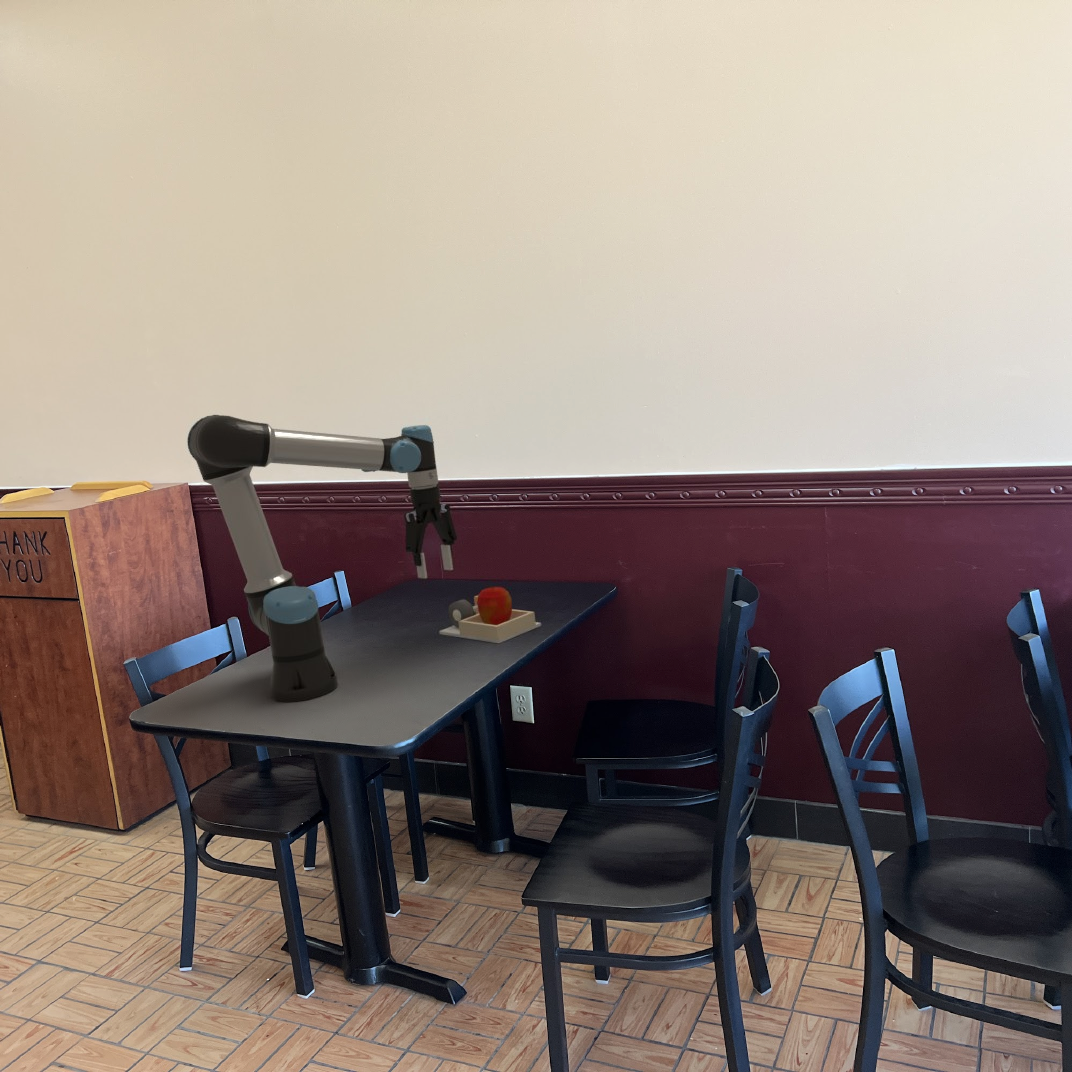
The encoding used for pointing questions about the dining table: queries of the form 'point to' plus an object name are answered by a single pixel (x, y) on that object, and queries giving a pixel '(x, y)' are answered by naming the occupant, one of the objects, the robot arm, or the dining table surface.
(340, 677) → the dining table surface
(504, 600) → the apple
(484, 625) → the chassis
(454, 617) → the wheel
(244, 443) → the robot arm
